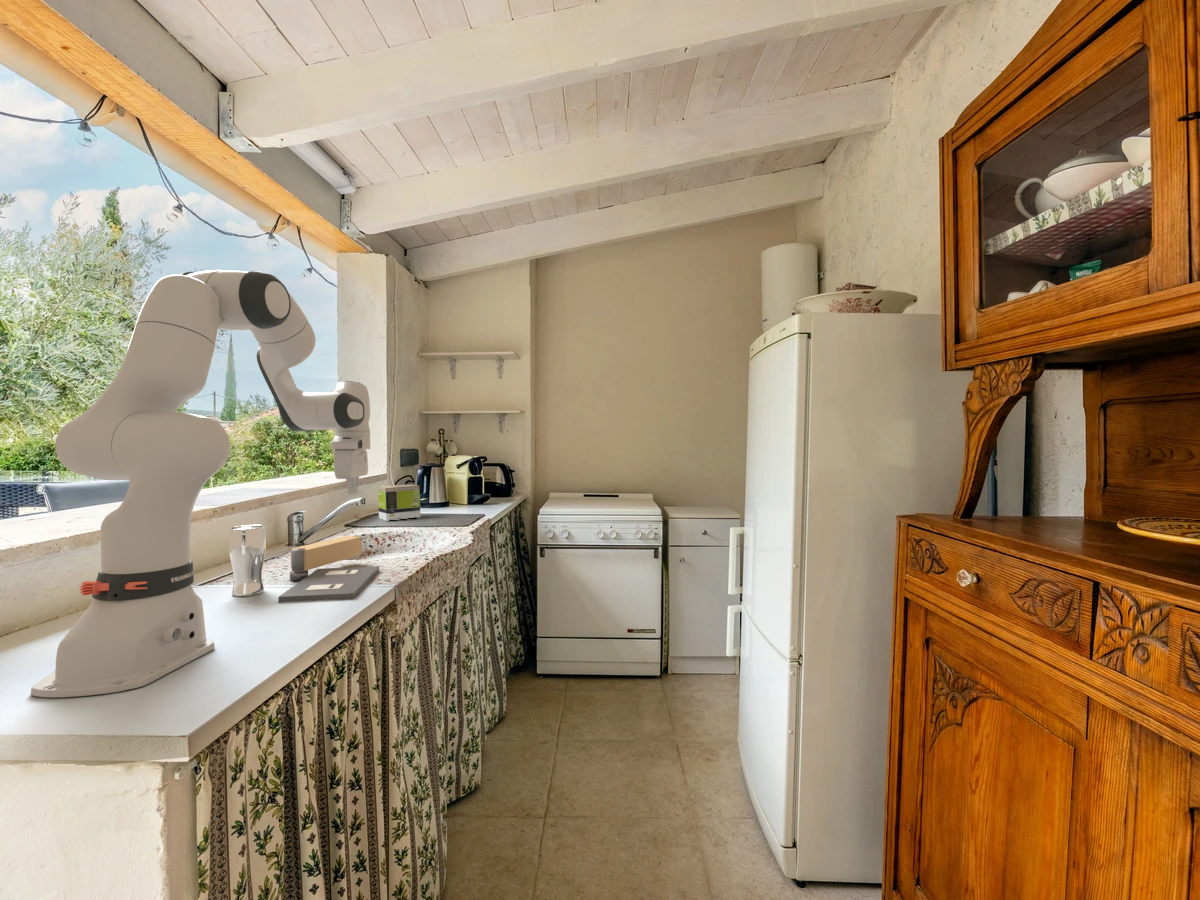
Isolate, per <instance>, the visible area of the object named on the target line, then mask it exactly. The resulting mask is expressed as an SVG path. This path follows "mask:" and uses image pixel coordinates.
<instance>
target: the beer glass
mask: <svg viewBox="0 0 1200 900" xmlns="http://www.w3.org/2000/svg"><path fill="white" fill-rule="evenodd" d="M265 529H266V528H265V525H263V524H245V525H236V526H232V527H230V528H229V539H228V540H229V541H228V542H229V543H228V550H229V552H228V554H229V559H230V563H231V567H232V573H233V587H232V590H231V591H232V592H231V595H232V596H233V597H235V598H236V597H238V598H242V597H251V596H252V597H253V596H256V595H261V594H262V593H264V591H265V588H264V584H263V567H264V564H265V563H264V562H265V557H266V550H267V549H266V547H267V546H266V545H267V544H266V543H267V540H266V531H265Z"/></svg>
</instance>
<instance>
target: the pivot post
mask: <svg viewBox="0 0 1200 900" xmlns="http://www.w3.org/2000/svg"><path fill="white" fill-rule="evenodd" d="M308 575H309V570H302V571H292V570H291V571H289V582H293V583H295V582H296V583H298V582H300V581H301V580H303V579H304V578H306V577H307V576H308Z"/></svg>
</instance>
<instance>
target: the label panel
mask: <svg viewBox="0 0 1200 900" xmlns="http://www.w3.org/2000/svg"><path fill="white" fill-rule="evenodd" d="M379 569H380V566H379V565H378V566H375V565H374V566H357V567H356V566H355V567H353V566H352V567H330V568H326V567H325V568H317V569H315V570H313V571H312V572H311V573H310V574H308V576H307V577H306V578H304V579H303V580H301V581H298V582H296V583H295V584H294V585H293V586H292V587H290V588H289V589H287V590H286V591H285V592H283V593H282V594H281V595H279V596H278V599H277V601H278V603H293V602H294V603H295V602H296V603H297V602H313V601H315V602H316V601H334V600H335V601H337V600H351V599H352V600H354V599H355V598H356V596H357V595H358V594H359V593H360V592H361V591H362V590H363V589H364V588H365V587H366V586H367V584H368V583H369V582H370V581H372V579H373V578H374V577H375V576H376V575H377V574H378V573H379V571H380V570H379ZM376 573H377V574H376ZM375 574H376V575H375ZM374 575H375V576H374ZM373 576H374V577H373ZM372 577H373V578H372ZM365 585H366V586H365Z"/></svg>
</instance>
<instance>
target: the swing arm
mask: <svg viewBox="0 0 1200 900" xmlns="http://www.w3.org/2000/svg"><path fill="white" fill-rule="evenodd" d="M361 555H362V536H350V535H345V536H341V537H336V538H332V539H327V540H323V541H319V542H314V543H310V544H306V545H302V546H297V547H292V548H291V549H290V569H291V571H302V570H308V571H310V570H313V569H316V568H317V569H318V568H319V567H324V566H327V565H331V564H333V563H338V562H340V561H345V560H348V559H351V558H356V557H358V556H361Z"/></svg>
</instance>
